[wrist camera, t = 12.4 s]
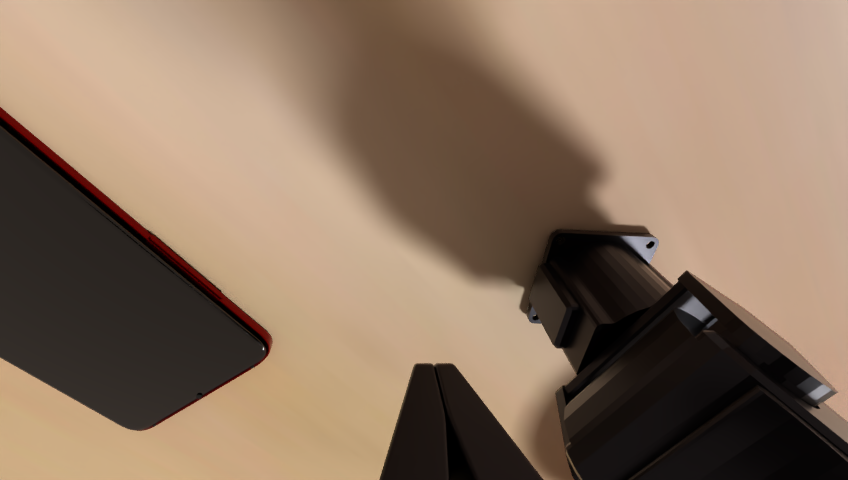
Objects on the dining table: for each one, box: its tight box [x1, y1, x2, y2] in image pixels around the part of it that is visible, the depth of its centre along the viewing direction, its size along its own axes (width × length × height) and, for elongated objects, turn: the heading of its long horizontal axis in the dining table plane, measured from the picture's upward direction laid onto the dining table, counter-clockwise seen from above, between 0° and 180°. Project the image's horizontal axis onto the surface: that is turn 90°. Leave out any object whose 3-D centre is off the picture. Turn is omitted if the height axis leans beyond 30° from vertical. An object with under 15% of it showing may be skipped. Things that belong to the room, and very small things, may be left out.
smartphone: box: [0, 107, 272, 431], centre depth 20 cm, size 12×2×25 cm
